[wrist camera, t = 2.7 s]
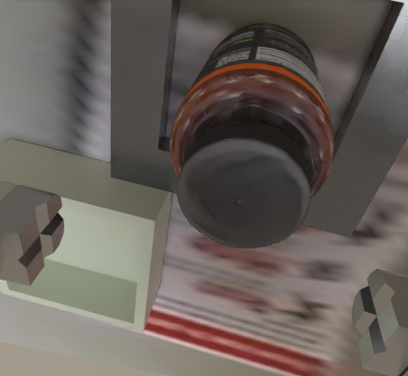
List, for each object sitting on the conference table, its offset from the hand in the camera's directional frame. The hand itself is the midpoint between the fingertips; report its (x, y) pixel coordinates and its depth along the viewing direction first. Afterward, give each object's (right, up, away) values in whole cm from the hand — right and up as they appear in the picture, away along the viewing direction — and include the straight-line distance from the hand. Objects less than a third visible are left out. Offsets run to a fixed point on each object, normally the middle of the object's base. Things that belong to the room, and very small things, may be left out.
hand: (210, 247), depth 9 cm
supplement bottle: (+3, +8, +10) cm, 13 cm away
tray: (-9, -1, +19) cm, 21 cm away
